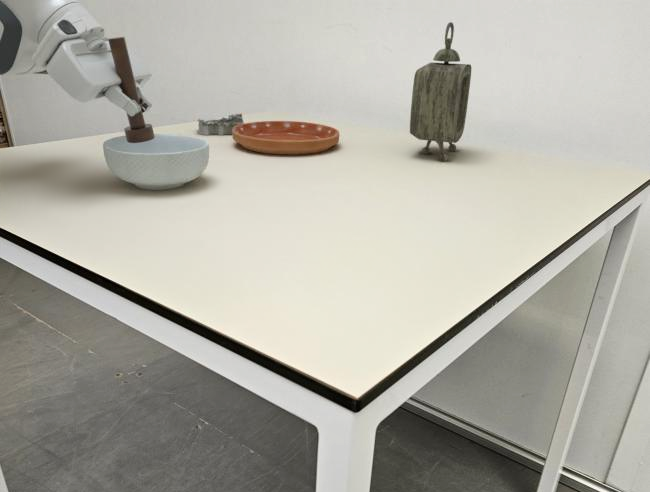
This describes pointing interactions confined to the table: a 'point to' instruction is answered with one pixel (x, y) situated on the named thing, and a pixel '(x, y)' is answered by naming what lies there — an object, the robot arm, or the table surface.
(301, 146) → the saucer
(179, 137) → the cereal bowl
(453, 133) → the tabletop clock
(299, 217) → the table surface
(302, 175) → the table surface
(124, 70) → the stirring stick
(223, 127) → the egg carton
